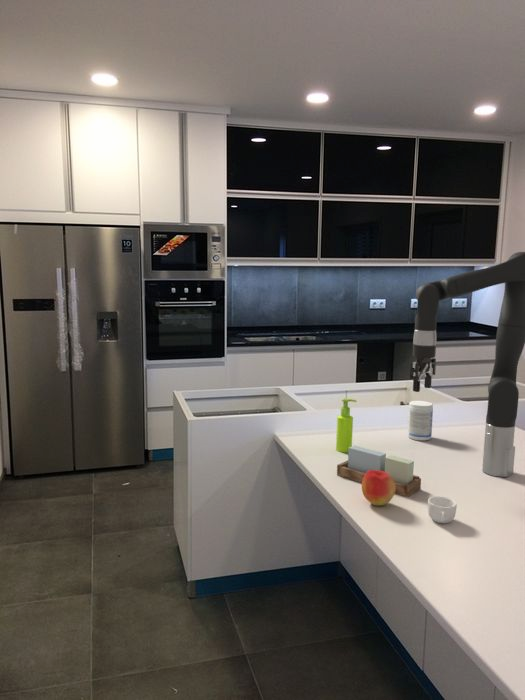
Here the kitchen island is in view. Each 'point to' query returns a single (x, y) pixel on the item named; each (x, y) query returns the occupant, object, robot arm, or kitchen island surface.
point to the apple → (378, 487)
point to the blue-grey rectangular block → (365, 459)
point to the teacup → (441, 509)
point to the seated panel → (399, 469)
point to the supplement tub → (420, 420)
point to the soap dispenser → (344, 428)
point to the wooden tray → (400, 488)
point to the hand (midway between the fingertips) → (422, 389)
